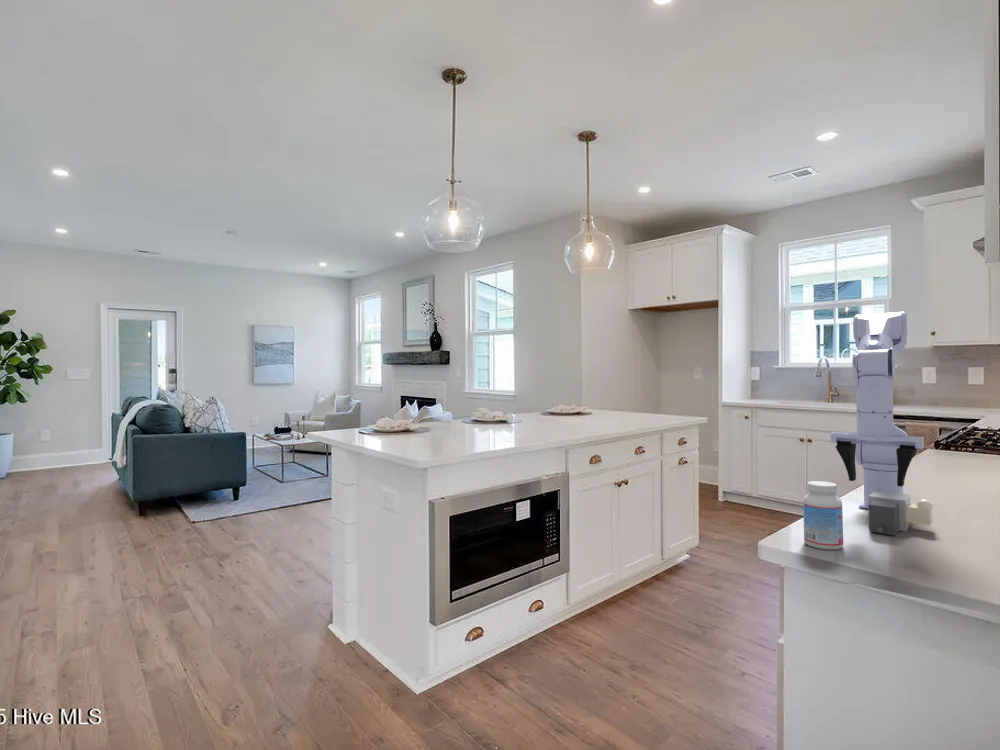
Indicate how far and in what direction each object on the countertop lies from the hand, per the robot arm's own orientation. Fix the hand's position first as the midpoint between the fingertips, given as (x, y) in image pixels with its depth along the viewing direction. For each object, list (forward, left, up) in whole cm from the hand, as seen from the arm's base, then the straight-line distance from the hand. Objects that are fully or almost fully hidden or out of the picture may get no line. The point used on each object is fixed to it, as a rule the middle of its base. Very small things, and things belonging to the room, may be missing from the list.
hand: (875, 482), depth 102 cm
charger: (-2, +1, -10) cm, 10 cm away
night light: (-8, +6, -8) cm, 13 cm away
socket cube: (-8, +1, -10) cm, 13 cm away
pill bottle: (+14, -6, -10) cm, 18 cm away
